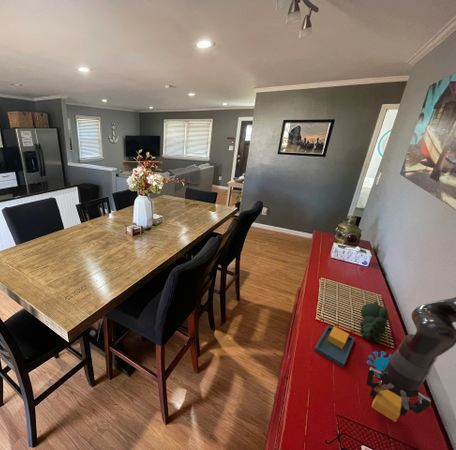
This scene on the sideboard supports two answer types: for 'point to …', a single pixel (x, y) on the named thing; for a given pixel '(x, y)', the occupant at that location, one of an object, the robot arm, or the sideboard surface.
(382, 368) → the blue virus toy
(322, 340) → the backing tray
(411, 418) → the sideboard surface
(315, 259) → the sideboard surface
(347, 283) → the sideboard surface
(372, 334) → the green broccoli
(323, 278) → the sideboard surface
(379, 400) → the pad
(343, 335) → the pad
